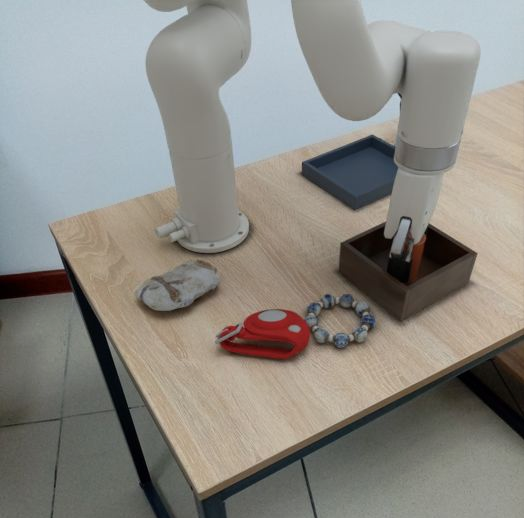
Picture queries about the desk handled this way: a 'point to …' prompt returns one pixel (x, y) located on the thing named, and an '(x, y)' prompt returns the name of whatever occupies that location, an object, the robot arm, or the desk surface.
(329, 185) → the tray
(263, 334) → the tracker holder
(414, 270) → the orange cylinder
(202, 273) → the stone
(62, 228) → the desk surface
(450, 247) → the brown open box
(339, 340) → the bracelet
